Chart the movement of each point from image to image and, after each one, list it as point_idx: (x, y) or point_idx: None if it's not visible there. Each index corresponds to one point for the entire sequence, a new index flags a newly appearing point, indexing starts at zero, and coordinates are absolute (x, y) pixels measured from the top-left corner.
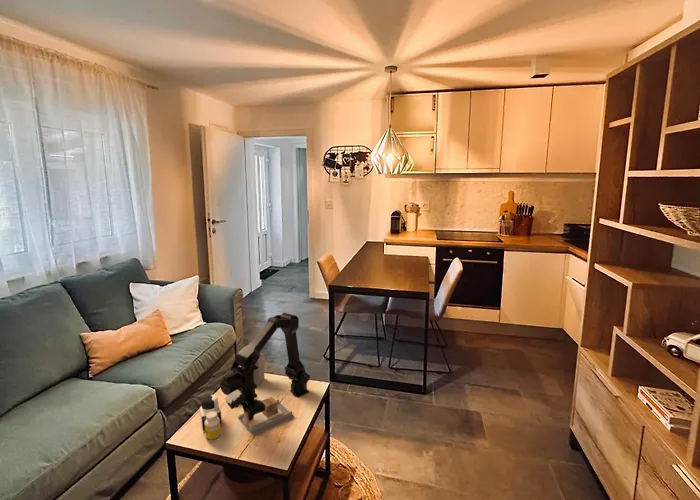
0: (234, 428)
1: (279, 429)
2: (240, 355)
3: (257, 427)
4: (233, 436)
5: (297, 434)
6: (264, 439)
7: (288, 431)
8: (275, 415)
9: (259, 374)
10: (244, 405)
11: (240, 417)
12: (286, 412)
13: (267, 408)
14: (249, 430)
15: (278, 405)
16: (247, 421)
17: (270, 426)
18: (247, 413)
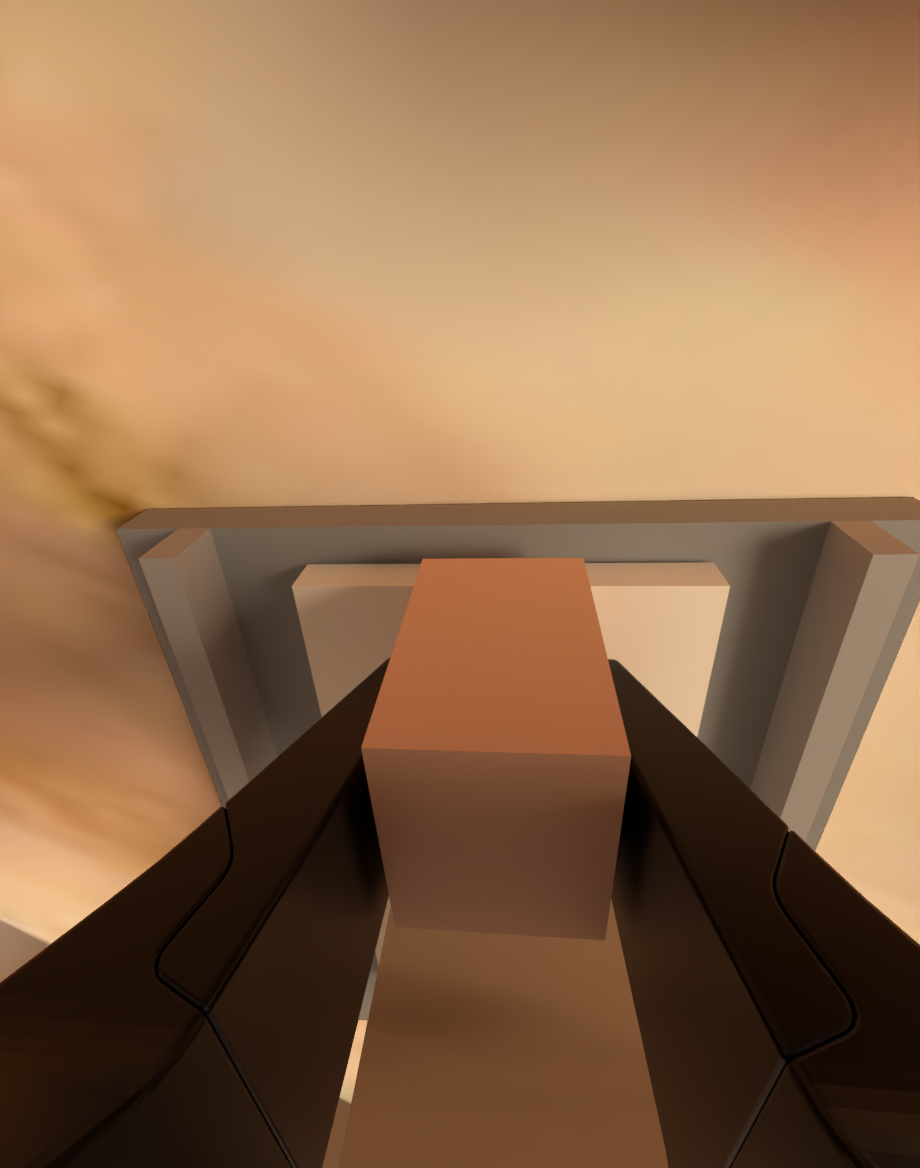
0: (637, 266)
1: (168, 827)
2: None
3: (188, 672)
4: (332, 102)
5: (8, 894)
6: (6, 616)
7: (91, 867)
8: (380, 946)
9: None
10: (784, 1151)
11: (836, 544)
12: None
13: (355, 1100)
14: (288, 520)
15: None
16: (416, 609)
17: (226, 798)
18: (313, 835)
